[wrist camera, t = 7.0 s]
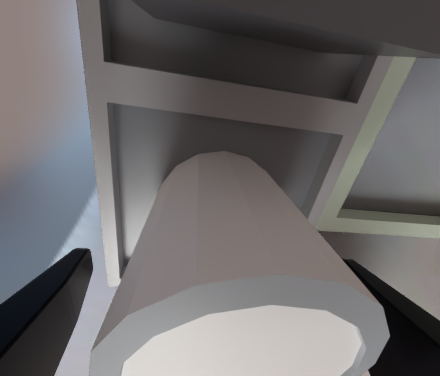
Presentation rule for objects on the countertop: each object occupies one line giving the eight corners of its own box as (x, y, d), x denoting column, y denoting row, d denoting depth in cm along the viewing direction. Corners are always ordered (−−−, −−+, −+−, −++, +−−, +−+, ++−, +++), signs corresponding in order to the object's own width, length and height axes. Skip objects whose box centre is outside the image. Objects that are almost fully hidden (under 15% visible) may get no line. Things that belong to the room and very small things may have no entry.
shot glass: (123, 233, 12) (52, 427, 6) (180, 106, 9) (158, 226, 3) (240, 269, 14) (277, 436, 8) (315, 176, 11) (459, 326, 5)
